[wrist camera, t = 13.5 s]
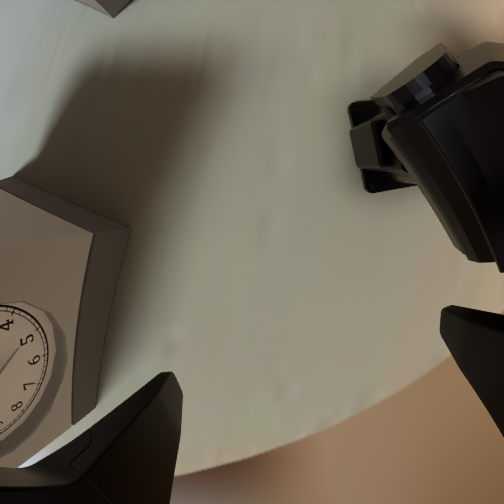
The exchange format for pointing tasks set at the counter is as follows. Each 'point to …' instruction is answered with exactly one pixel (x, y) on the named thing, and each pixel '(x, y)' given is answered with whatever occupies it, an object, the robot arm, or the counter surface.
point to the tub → (106, 6)
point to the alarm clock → (51, 313)
